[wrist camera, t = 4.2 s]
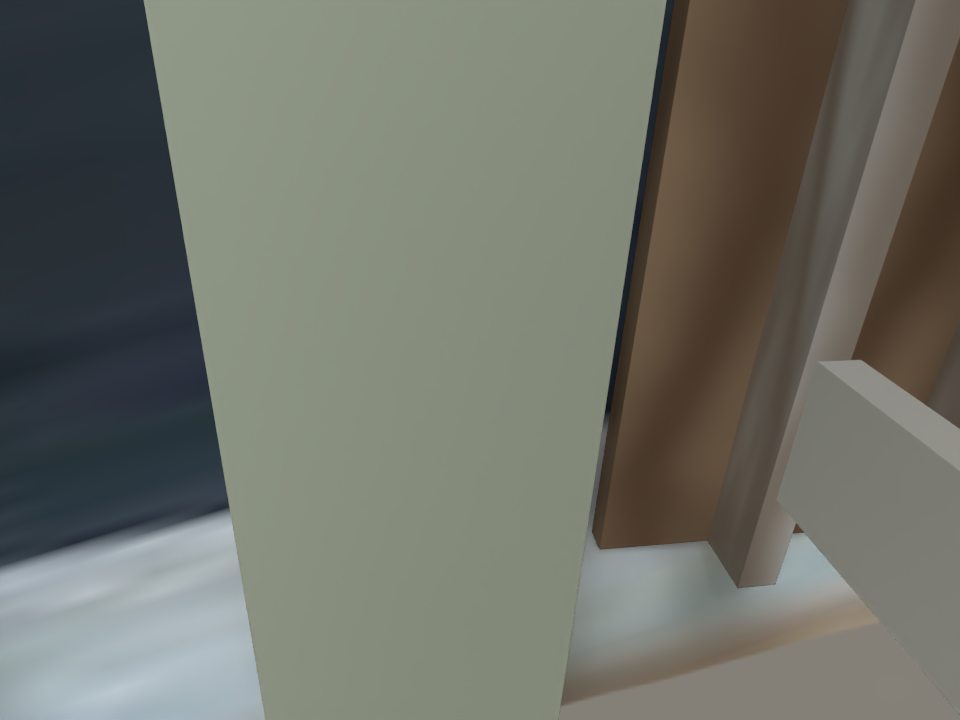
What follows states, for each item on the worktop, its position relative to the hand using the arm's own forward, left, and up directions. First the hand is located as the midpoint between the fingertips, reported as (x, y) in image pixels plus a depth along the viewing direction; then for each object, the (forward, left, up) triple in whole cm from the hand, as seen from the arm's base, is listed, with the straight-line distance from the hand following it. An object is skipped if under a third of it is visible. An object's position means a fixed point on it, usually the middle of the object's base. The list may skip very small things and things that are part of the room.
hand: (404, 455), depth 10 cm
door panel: (0, 0, -12) cm, 12 cm away
